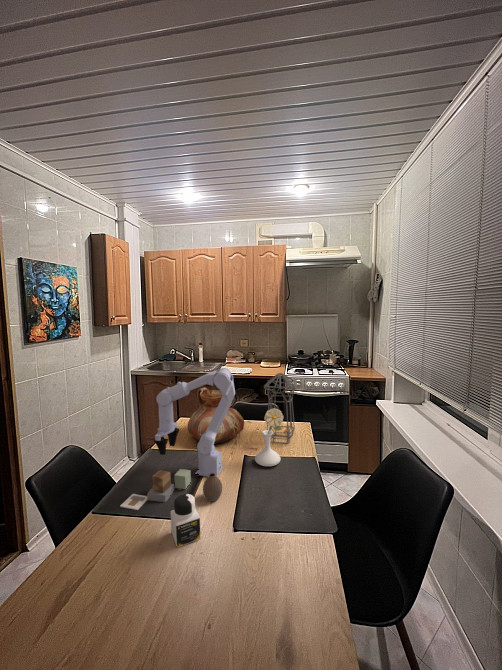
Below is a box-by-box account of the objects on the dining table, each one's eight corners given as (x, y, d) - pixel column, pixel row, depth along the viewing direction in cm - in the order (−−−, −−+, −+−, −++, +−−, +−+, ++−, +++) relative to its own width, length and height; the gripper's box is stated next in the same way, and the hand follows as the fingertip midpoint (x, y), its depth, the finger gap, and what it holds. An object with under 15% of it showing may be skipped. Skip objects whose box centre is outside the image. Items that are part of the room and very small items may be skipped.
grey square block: (174, 491, 114) (174, 484, 113) (165, 503, 107) (165, 495, 107) (157, 489, 115) (156, 482, 115) (147, 501, 108) (147, 493, 108)
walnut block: (170, 486, 112) (170, 472, 112) (163, 493, 108) (162, 478, 107) (161, 483, 114) (160, 469, 113) (153, 490, 110) (152, 476, 109)
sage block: (191, 483, 118) (190, 470, 118) (185, 490, 114) (185, 476, 113) (180, 482, 119) (180, 468, 119) (175, 488, 115) (174, 475, 114)
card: (149, 497, 110) (149, 496, 110) (137, 510, 103) (137, 508, 103) (133, 494, 111) (132, 493, 111) (120, 506, 105) (120, 505, 105)
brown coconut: (225, 494, 111) (225, 472, 110) (216, 506, 104) (215, 482, 104) (209, 490, 114) (209, 468, 113) (199, 500, 107) (198, 477, 107)
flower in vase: (251, 466, 130) (250, 410, 128) (260, 454, 141) (259, 402, 138) (280, 472, 125) (279, 413, 123) (287, 459, 136) (287, 405, 133)
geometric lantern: (264, 445, 150) (262, 375, 148) (269, 433, 165) (267, 370, 163) (295, 447, 147) (294, 376, 144) (298, 434, 162) (297, 370, 160)
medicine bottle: (176, 548, 86) (175, 509, 85) (171, 532, 92) (169, 495, 91) (200, 539, 89) (199, 501, 88) (193, 524, 96) (192, 488, 95)
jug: (250, 427, 172) (249, 384, 170) (235, 452, 143) (234, 401, 140) (201, 423, 179) (199, 382, 176) (177, 446, 150) (175, 397, 147)
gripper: (166, 411, 133) (168, 441, 134) (147, 424, 119) (149, 457, 120) (181, 413, 131) (182, 443, 132) (163, 425, 117) (164, 459, 118)
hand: (167, 450), depth 126 cm, fingers open, 7 cm apart
